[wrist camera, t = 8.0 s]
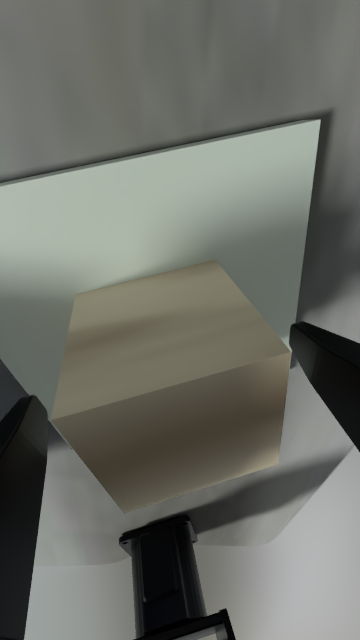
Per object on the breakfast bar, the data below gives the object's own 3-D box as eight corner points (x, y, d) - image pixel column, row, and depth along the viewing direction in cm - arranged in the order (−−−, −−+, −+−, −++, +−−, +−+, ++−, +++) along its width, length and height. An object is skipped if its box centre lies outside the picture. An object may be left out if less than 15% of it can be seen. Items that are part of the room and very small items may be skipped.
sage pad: (278, 373, 16) (287, 386, 15) (73, 431, 15) (71, 449, 14) (301, 120, 9) (320, 119, 8) (-93, 202, 8) (-117, 210, 7)
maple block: (224, 358, 13) (278, 464, 9) (118, 387, 12) (124, 513, 8) (215, 259, 10) (291, 351, 6) (75, 294, 9) (50, 420, 5)
